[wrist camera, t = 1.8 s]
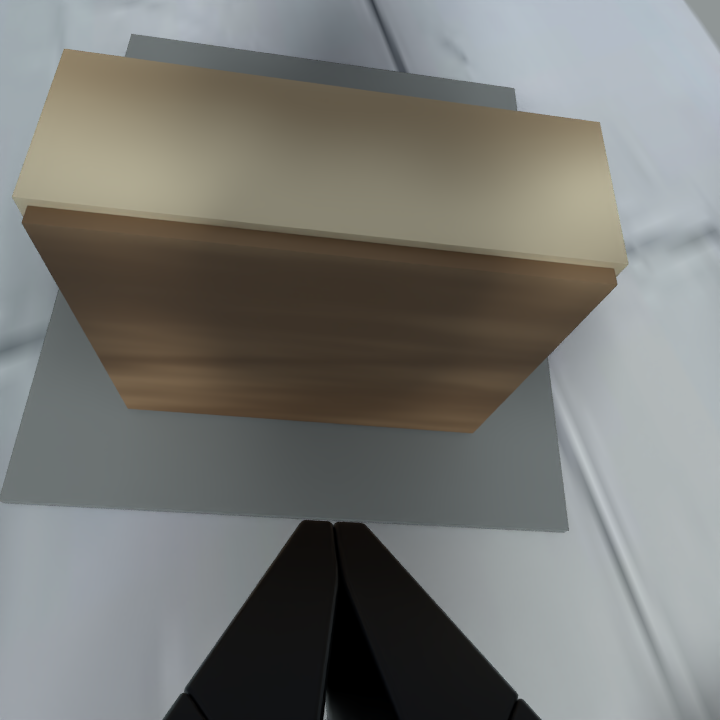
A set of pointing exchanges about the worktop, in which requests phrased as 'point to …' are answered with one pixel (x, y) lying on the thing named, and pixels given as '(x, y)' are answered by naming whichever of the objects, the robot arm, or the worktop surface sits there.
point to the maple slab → (314, 241)
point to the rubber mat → (272, 436)
